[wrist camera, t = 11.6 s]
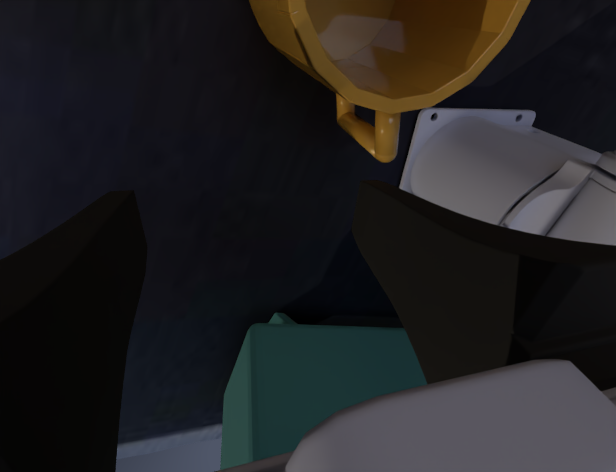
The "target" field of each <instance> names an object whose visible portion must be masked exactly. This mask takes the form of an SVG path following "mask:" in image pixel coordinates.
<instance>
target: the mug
mask: <svg viewBox="0 0 616 472" xmlns="http://www.w3.org/2000/svg"><path fill="white" fill-rule="evenodd" d="M249 1H250V4H251V7H252V10H253V13H254V15H255V17H256V20H257V22H258V24H259V26H260V28H261V29H262V31H263V33H264V34H265V36H266V37H267V39H268V41H270V43H271V44H272V45H273V46H274V47H275V48H276V49H277V50H278V51H279V52H280V53H282V54H283V55H284V56H285V57H286V58H288V59H289V60H290V61H291V62H292V63H293V64H295V65H296V66H298V67H299V68H301V69H302V70H303V71H305V72H306V73H308V74H309V75H311V76H312V77H314V78H315V79H316V80H318V81H319V82H321V83H322V84H324V85H325V86H327V87H328V88H329V89H331V90H332V91H334V92H335V93H336V101H337V122H338V124H339V125H340V126H341V127H342V128H343V129H344V130H345V131H346V132H347V133H348V134H350V135H351V136H352V137H353V138H354V139H355V140H356V141H357V142H358V143H360V144H361V145H362V146H363V147H364V148H365V149H366V150H367V151H368V152H370V153H371V154H372V155H373V156H374V157H375V158H376V159H377V160H379V161H380V162H383V163H387V162H390V161H392V160H393V159H394V158H395V157H396V155H397V150H398V138H399V126H400V114H401V112H405V111H411V110H417V109H422V108H428V107H431V106H434V105H436V104H437V103H439V102H440V101H442V100H444V99H445V98H447V97H449V96H450V95H452V94H454V93H455V92H457V91H458V90H460V89H462V88H463V87H465V86H467V85H468V84H470V83H471V82H472V81H474V80H475V79H476V77H477V76H478V75H479V74H480V73H481V72H482V71H483V70H484V68H485V67H486V66H487V65H488V64H489V63H490V62H491V61H492V60H493V58H494V57H495V56H496V55H497V54H498V53H499V52H500V51H501V50H502V48H503V47H504V46H505V45H506V44H507V43H508V40H510V38H511V36H512V35H513V33H514V31H515V29H516V27H517V25H518V23H519V21H520V20H521V18H522V16H523V14H524V12H525V10H526V8H527V6H528V5H529V3H530V1H531V0H249ZM355 104H356V105H359V106H363V107H366V108H370V109H373V110H376V115H375V128H374V127H373V126H371V125H370V124H369V123H367V122H366V121H365V120H363V119H362V118H361V117H359V116H358V115H357V114H355Z"/></svg>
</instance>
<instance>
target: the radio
mask: <svg viewBox="0 0 616 472" xmlns="http://www.w3.org/2000/svg"><path fill="white" fill-rule="evenodd" d="M423 385H427V382H426V379H425V377H424V374H423V372H422V369H421V366H420V364H419V361H418V359H417V356H416V354H415V352H414V349H413V347H412V345H411V343H410V340H409V338H408V336H407V333H406V331H405V329H404V328H390V327H361V326H332V325H303V324H297V323H296V322H294V321H293V320H292V319H291V318H289V317H288V316H287V315H286V314H285V313H274V315H273V317H272V318H271V320H270V321H269V323H256V324H253V325H252V326H251V327H250V328H249V329H248V332H247V334H246V337H245V340H244V342H243V345H242V348H241V350H240V353H239V356H238V358H237V361H236V364H235V367H234V369H233V372H232V375H231V377H230V380H229V383H228V385H227V388H226V391H225V394H224V406H223V427H222V447H221V468H220V470H223V469H227V468H230V467H234V466H238V465H242V464H246V463H250V462H253V461H257V460H261V459H265V458H269V457H273V456H276V455H280V454H284V453H288V452H292V451H295V449H296V447H297V446H298V444H299V443H300V441H301V439H302V438H303V436H304V435H305V433H306V432H308V431H309V430H311V429H312V428H314V427H315V426H316V425H318V424H319V423H321V422H322V421H324V420H325V419H327V418H328V417H329V416H331V415H332V414H334V413H335V412H337V411H339V410H341V409H344V408H347V407H350V406H352V405H355V404H358V403H360V402H363V401H366V400H368V399H371V398H374V397H376V396H380V395H384V394H389V393H393V392H397V391H402V390H406V389H410V388H415V387H419V386H423Z"/></svg>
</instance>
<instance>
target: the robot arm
mask: <svg viewBox="0 0 616 472" xmlns="http://www.w3.org/2000/svg"><path fill="white" fill-rule="evenodd" d="M434 113H435V116H434V117H433V118H432V119H431V116H432V114H434ZM517 116H518V117H517ZM535 116H536V113H535V112H534V111H531V110H510V109H465V108H424V109H422V110H421V111H420V113H419V115H418V119H417V122H416V126H415V130H414V134H413V137H412V141H411V145H410V149H409V152H408V156H407V160H406V164H405V167H404V171H403V175H402V179H401V182H400V186H399V188H397V187H395V186H393V185H390V184H388V183H385V182H382V181H378V180H368V181H360V186H359V192H358V197H357V202H356V207H355V213H354V218H353V223H352V228H351V230H352V233H353V235H354V238H355V241H356V243H357V245H358V247H359V250H360V252H361V254H362V255H363V257H364V259H365V260H366V262H367V264H368V265H369V267H370V269H371V270H372V272H373V273H374V275H375V277H376V278H377V280H378V281H379V283H380V285H381V286H382V288H383V289H384V291H385V293H386V294H387V296H388V297H389V299H390V301H391V303H392V304H393V306H394V308H395V310H396V312H397V314H398V316H399V318H400V320H401V323H402V325H403V327H404V329H405V331H406V333H407V336H408V338H409V340H410V343H411V345H412V347H413V349H414V352H415V354H416V356H417V359H418V361H419V364H420V366H421V369H422V372H423V374H424V377H425V379H426V382H427V385H423V386H419V387H415V388H410V389H406V390H402V391H397V392H393V393H389V394H384V395H380V396H376V397H374V398H371V399H368V400H366V401H363V402H360V403H358V404H355V405H352V406H350V407H347V408H344V409H341V410H339V411H337V412H335V413H334V414H332V415H331V416H329V417H328V418H327V419H325V420H324V421H322V422H321V423H319V424H318V425H316V426H315V427H314V428H312V429H311V430H309V431H308V432H306V433H305V435H304V436H303V438H302V439H301V441H300V443H299V444H298V446H297V447H296V449H295V451H292V452H288V453H284V454H280V455H276V456H273V457H269V458H265V459H261V460H257V461H253V462H250V463H246V464H242V465H238V466H234V467H230V468H227V469H223V470H219V471H216V472H616V150H615V151H614V152H608V151H607V152H604V153H603V154H600V153H598V152H596V151H593V150H590V149H588V148H585V147H583V146H580V145H578V144H575V143H572V142H570V141H567V140H565V139H562V138H559V137H557V136H554V135H552V134H549V133H547V132H544V131H541V130H539V129H536V128H534V127H531V126H532V124H533V121H534V119H535ZM516 117H517V119H516ZM146 259H147V243H146V239H145V235H144V231H143V227H142V222H141V218H140V214H139V210H138V206H137V202H136V197H135V193H134V190H133V191H111V192H109V193H107V194H105V195H103V196H102V197H100V198H99V199H97V200H96V201H95V202H93V203H92V204H90V205H89V206H87V207H86V208H85V209H83V210H82V211H80V212H79V213H77V214H76V215H75V216H73V217H72V218H70V219H69V220H67V221H66V222H64V223H63V224H61V225H60V226H58V227H57V228H55V229H53V230H52V231H50V232H49V233H47V234H45V235H44V236H42V237H41V238H39V239H37V240H36V241H34V242H33V243H31V244H29V245H27V246H26V247H24V248H22V249H20V250H18V251H17V252H15V253H13V254H11V255H9V256H7V257H5V258H3V259H1V260H0V472H115V470H116V456H117V443H118V431H119V419H120V409H121V399H122V389H123V380H124V372H125V364H126V356H127V349H128V344H129V339H130V334H131V330H132V326H133V322H134V318H135V314H136V310H137V306H138V302H139V298H140V294H141V290H142V285H143V281H144V277H145V270H146Z"/></svg>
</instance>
